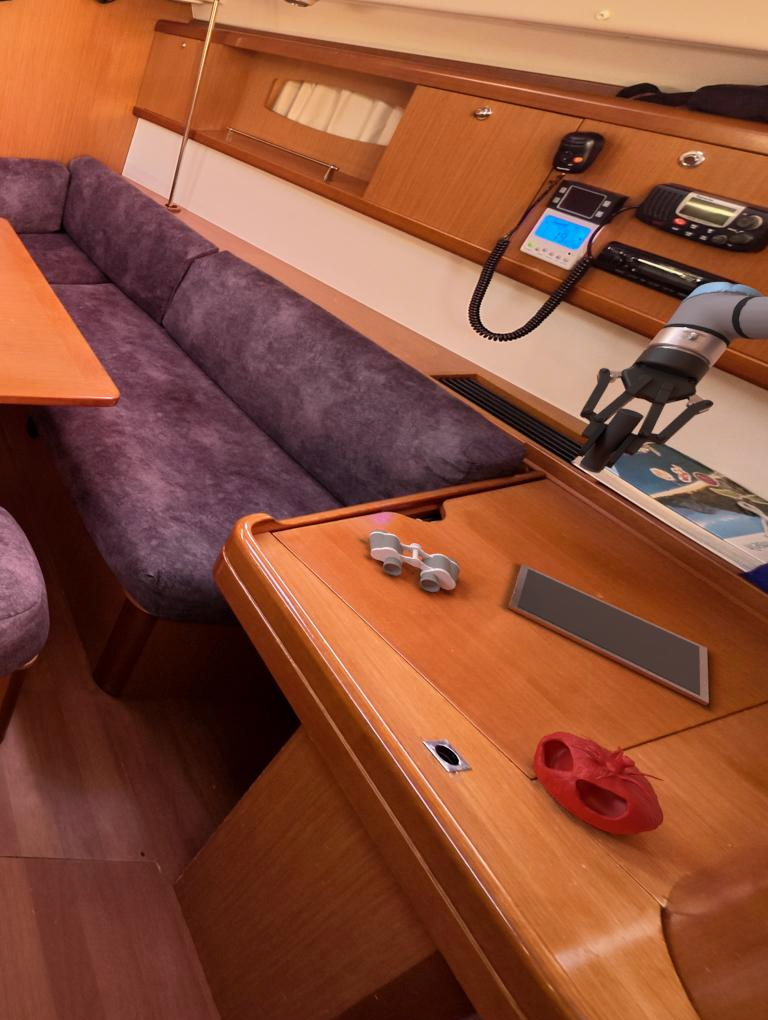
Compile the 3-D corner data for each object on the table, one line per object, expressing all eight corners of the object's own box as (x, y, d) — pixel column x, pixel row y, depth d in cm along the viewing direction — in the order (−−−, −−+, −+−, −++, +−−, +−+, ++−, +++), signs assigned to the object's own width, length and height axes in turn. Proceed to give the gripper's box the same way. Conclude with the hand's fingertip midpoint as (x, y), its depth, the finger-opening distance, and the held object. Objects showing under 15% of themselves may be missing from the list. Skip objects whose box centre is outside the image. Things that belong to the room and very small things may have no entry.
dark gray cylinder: (601, 469, 114) (644, 413, 109) (600, 475, 113) (643, 419, 107) (579, 461, 116) (619, 406, 111) (577, 467, 115) (618, 411, 109)
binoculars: (454, 575, 107) (465, 560, 105) (455, 603, 102) (465, 588, 100) (366, 538, 114) (375, 524, 113) (362, 563, 109) (371, 548, 107)
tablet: (704, 650, 95) (707, 647, 95) (705, 706, 87) (709, 702, 87) (520, 566, 109) (522, 563, 109) (507, 607, 101) (509, 604, 101)
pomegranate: (575, 755, 81) (619, 713, 77) (668, 848, 72) (723, 806, 68) (498, 752, 81) (538, 710, 77) (581, 844, 72) (631, 802, 68)
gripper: (615, 330, 115) (536, 428, 115) (759, 369, 103) (670, 478, 103) (606, 348, 120) (530, 442, 120) (742, 388, 107) (657, 492, 107)
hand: (595, 459), depth 111 cm, fingers closed on dark gray cylinder, 3 cm apart
